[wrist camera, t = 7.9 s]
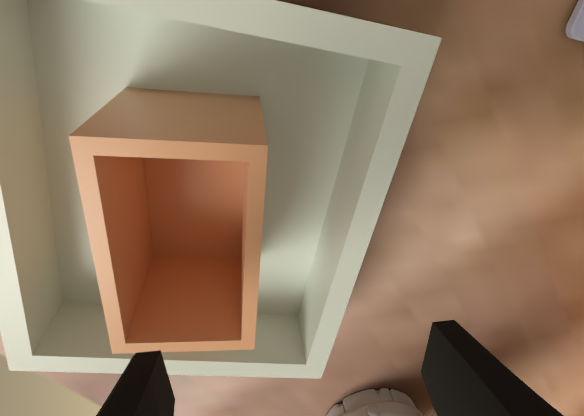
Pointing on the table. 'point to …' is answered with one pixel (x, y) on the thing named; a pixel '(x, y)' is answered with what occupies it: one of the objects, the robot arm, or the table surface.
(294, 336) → the big crate
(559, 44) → the table surface
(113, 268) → the box
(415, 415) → the mug
